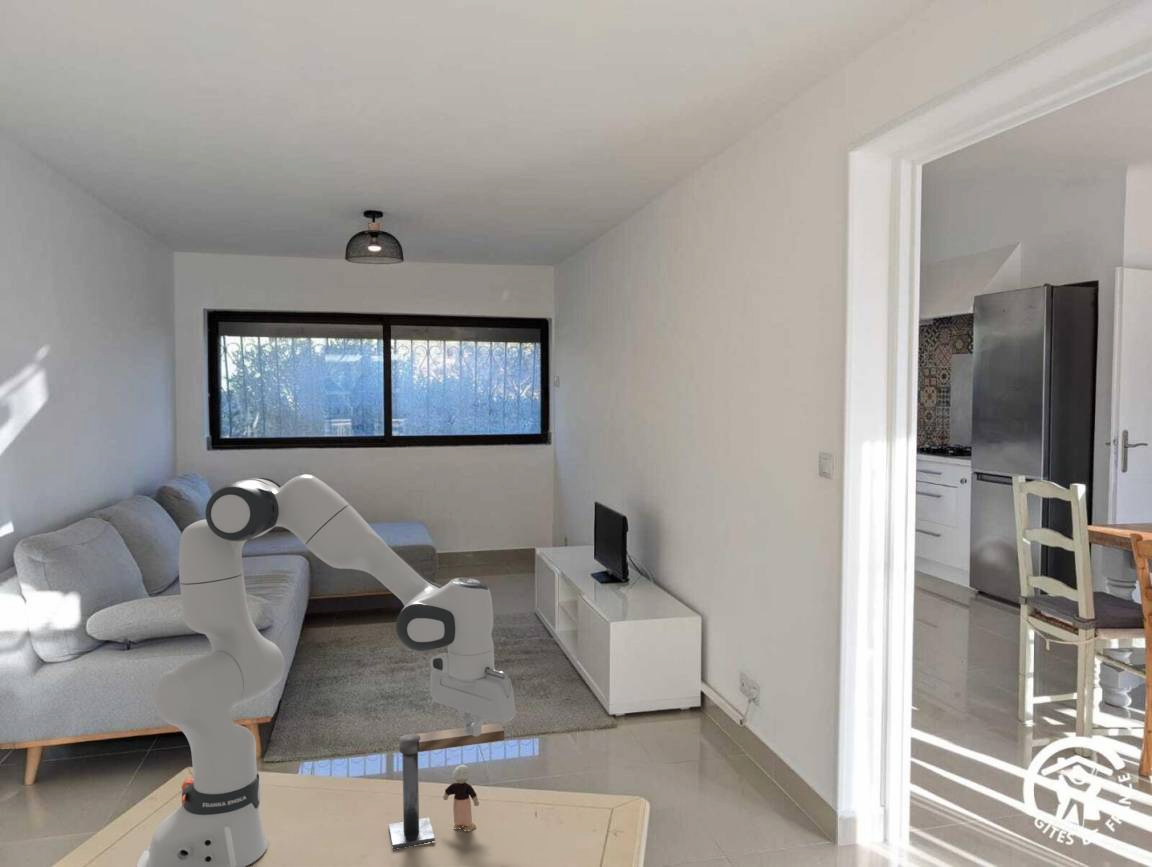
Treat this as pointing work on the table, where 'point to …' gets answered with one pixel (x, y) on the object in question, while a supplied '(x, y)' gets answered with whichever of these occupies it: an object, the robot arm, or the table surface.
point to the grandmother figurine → (462, 798)
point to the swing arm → (449, 739)
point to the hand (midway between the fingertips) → (472, 734)
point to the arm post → (411, 810)
